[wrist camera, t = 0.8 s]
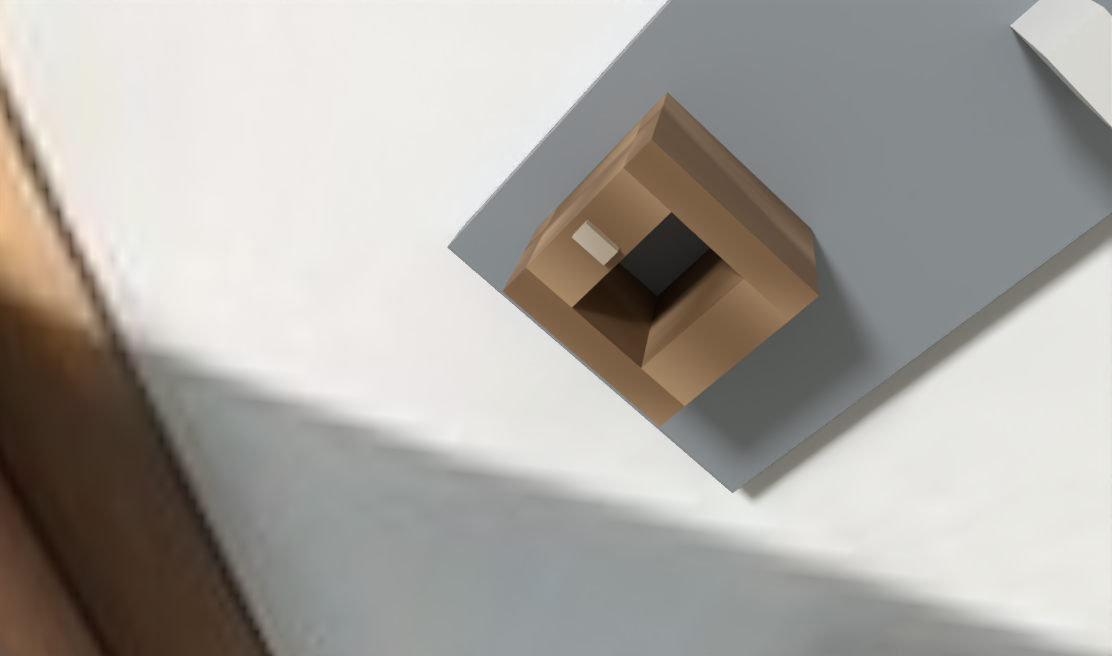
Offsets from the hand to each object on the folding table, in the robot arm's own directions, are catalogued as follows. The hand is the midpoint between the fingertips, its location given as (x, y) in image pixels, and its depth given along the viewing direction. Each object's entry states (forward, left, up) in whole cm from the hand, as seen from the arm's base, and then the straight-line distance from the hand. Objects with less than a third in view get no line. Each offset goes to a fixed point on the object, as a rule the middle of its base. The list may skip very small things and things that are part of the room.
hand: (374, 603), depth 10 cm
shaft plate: (+3, -6, -25) cm, 26 cm away
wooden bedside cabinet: (-3, -4, -23) cm, 24 cm away
